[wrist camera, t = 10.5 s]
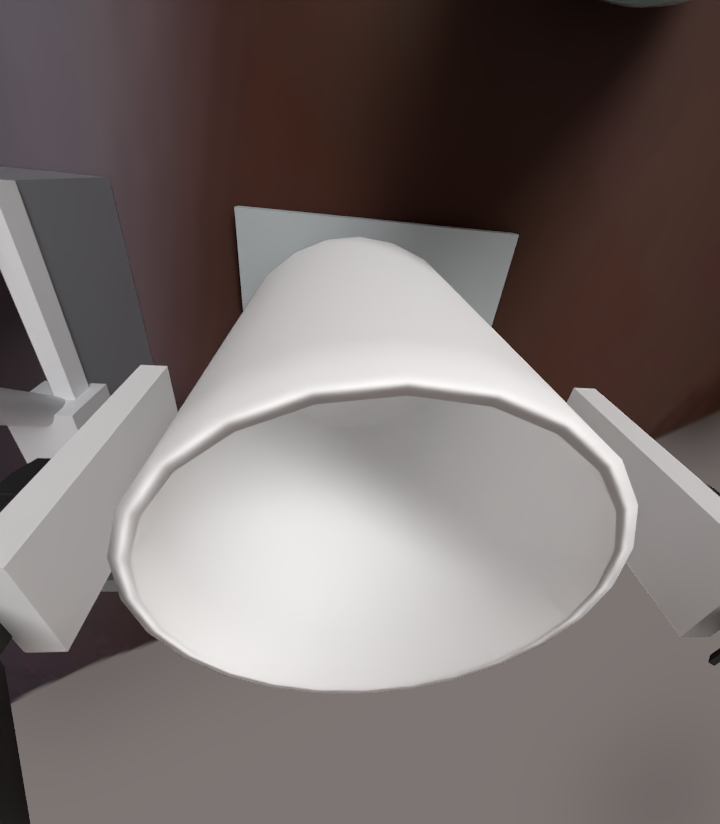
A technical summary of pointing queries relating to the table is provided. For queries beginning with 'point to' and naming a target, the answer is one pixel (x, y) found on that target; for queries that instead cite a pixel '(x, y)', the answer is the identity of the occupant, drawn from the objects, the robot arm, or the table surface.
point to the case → (67, 303)
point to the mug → (368, 490)
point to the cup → (646, 3)
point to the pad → (438, 245)
